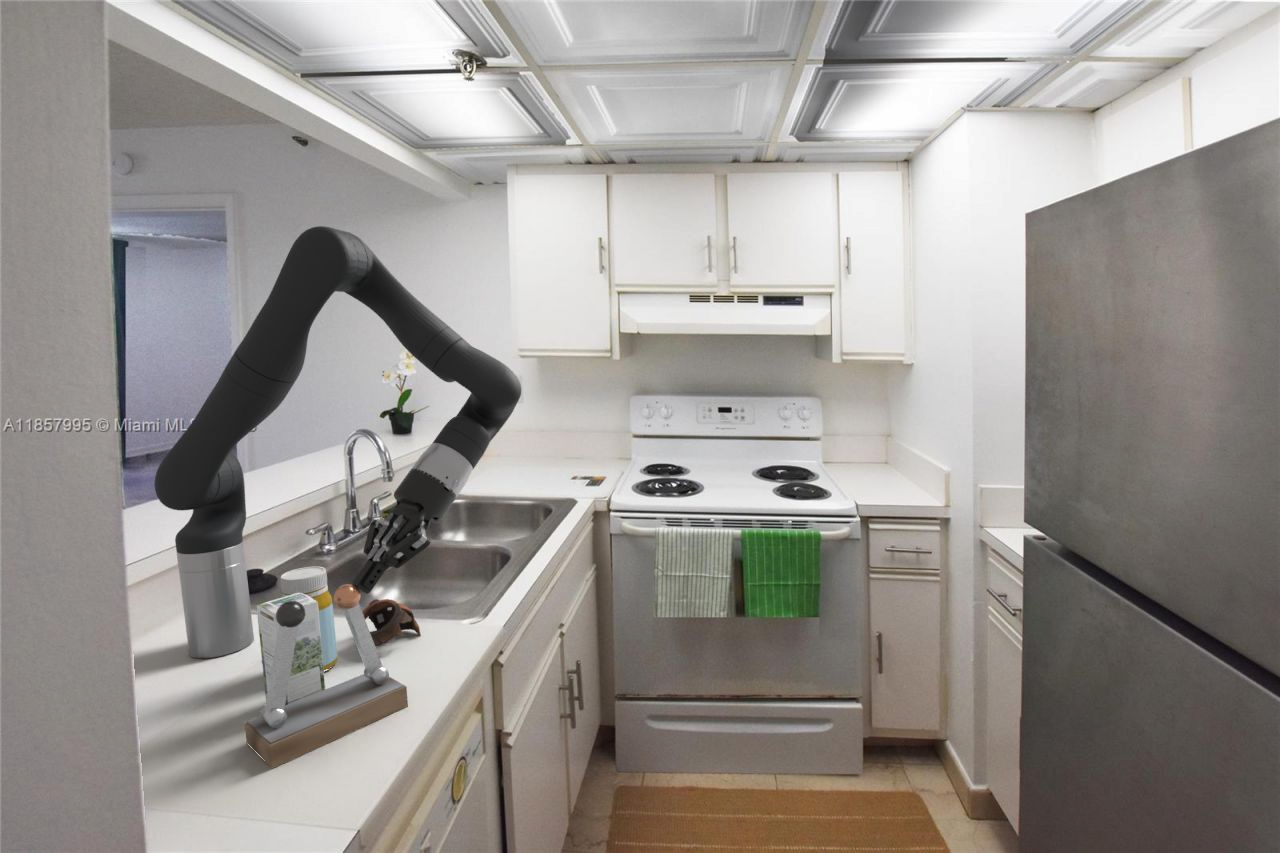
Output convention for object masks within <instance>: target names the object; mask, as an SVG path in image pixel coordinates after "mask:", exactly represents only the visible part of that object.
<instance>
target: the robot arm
mask: <svg viewBox="0 0 1280 853" xmlns="http://www.w3.org/2000/svg"><path fill="white" fill-rule="evenodd" d="M335 292H338V293H339V292H340V293H341V292H342V293H345V294H347V295H348V296H349V297H350V296H351V297H352V298H353V299H355V300H357V301H358V302H360V303H361V304H363V305H365V306H366V307H367V308H368V309H370V310H371V311H372V312H374V313H375V314H376V315H377V316H378V317H379V318H380V319H381V320H382V321H383V322H384V323H385V324H386V326H387V327H388V328H389V330H390V332H392V334H393V335H394V336H395V338H397V339H396V340H398V341H399V343H401V345H402V346H403V347H404V348H405V349H406V350H407V352H409V354H411V355H412V356H413V357H414V358H415V359H417V361H419V362H420V364H422V366H424V367H425V368H426V369H427V370H429V371H430V372H432V374H434V375H435V376H436V377H437V378H439V379H440V380H442V381H443V382H446V383H453V382H454V383H457V384H459V385H460V386H462V387H463V388H465V389H466V390H468V391H469V392H470V395H469V396H468V398H467V400H466V401H465V403H464V404H463V406H462V407H461V408H460V410H459V411H458V413H457V414H456V416H454V417H452V418H451V419H449V421H447V423H446V424H445V425H444V426H443V427H442V429H441V430H440V432H439V433H438V434H437V436H436V437H435V439H434V440H433V441H432V443H431V444H430V445H429V447H427V449H425V450H424V452H422V454H421V455H419V457H418V459H417V460H416V461H415V463H414V465H413V466H412V467H411V468H410V470H409V471H408V473H407V474H406V475H405V477H404V478H403V480H402V481H401V482H400V484H399V485H398V486H397V488H396V490H394V493H393V498H394V500H396V505H395V506H394V507H393V508H392V510H390V511H389V512H388V513H387V514H386V517H385V519H383V520H382V521H378V520H377V519H373V520H372V521H371V522H370V523H369V526H368V527H369V528H368V531H367V534H366V538H365V539H366V540H365V542H364V547H363V550H362V551H363V554H365V555H366V559H367V561H366V562H365V564H364V565H363V567H362V568H361V569H360V571H359V572H358V573H357V575H356V577H355V578H354V579H353V581H352V582H351V583H352V584H351V585H354V586H356V587H357V588H358V589H359V591H360V593H361V592H362V593H364V594H370V593H371V591H372V590H373V589H374V588H375V587H376V585H377V583H378V582H379V581H380V579H381V577H382V576H383V575H384V573H385V572H386V571H389V570H391V569H392V568H395V569H400V568H401V567H402V566H404V565H405V564H406V563H407V562H409V561H411V559H413V558H414V557H415V556H417V555H418V554H419V553H421V552H423V550H425V549H426V548H428V547H429V546H430V545H431V543H432V541H431V539H429V537H427V535H426V532H427V531H428V530H429V527H430V525H431V523H433V524H436V523H437V524H438V523H440V522H441V521H442V520H443V518H444V517H445V515H446V514H447V512H448V511H449V509H450V508H451V506H452V505H453V503H454V502H455V501H456V499H457V497H458V496H459V494H460V493H461V492H462V490H463V489H464V487H465V486H466V483H467V482H468V481H469V478H470V475H471V474H472V472H473V470H474V469H475V467H476V466H477V464H479V462H480V460H481V459H482V457H483V456H484V454H485V452H486V451H487V449H488V447H489V445H490V442H492V440H493V439H494V438H495V437H496V435H497V434H498V433H499V432H500V430H501V429H502V428H503V426H504V425H505V424H506V422H507V421H508V420H509V419H510V417H511V416H512V413H513V412H514V410H515V408H516V406H517V405H518V403H519V400H520V398H521V395H522V386H521V382H520V379H519V378H518V376H517V375H516V374H515V373H514V371H513V370H511V368H510V367H508V366H507V365H506V364H505V363H503V362H502V361H500V360H498V359H497V358H495V357H493V356H491V355H490V354H488V353H486V352H485V351H482V350H481V349H478V348H476V347H474V346H472V345H471V343H469V342H468V341H467V340H465V338H463V337H462V336H461V335H460V334H459V333H458V332H456V330H454V329H453V328H452V327H450V326H449V325H448V324H447V323H446V322H445V321H443V320H442V319H441V318H439V317H438V316H437V315H436V314H435V313H434V312H432V311H431V310H430V309H429V308H428V307H426V306H425V305H424V304H423V303H422V302H421V301H419V300H418V299H417V297H415V296H414V295H413V294H412V293H411V292H410V291H409V290H408V289H407V288H405V286H404V285H402V283H401V282H400V281H399V280H398V279H397V278H396V277H395V276H394V275H393V273H391V272H390V270H389V269H388V268H387V267H386V266H385V265H384V264H383V262H382V261H381V260H380V259H379V258H378V257H377V255H376V254H375V253H374V252H373V251H372V250H371V248H370V247H369V246H368V245H367V244H366V243H365V242H364V241H363V240H362V239H361V238H360V237H359V236H357V235H355V234H353V233H351V232H349V231H345V230H341V229H337V228H333V227H330V226H323V225H319V226H313V227H311V228H308V229H306V230H305V231H303V232H301V234H300V235H299V236H298V237H297V238H296V239H295V241H294V242H293V243H292V245H291V248H290V250H289V252H287V256H286V258H285V261H284V263H283V264H282V267H281V269H280V271H279V273H278V275H277V279H276V280H275V283H274V284H273V287H272V289H271V292H270V294H269V295H268V297H267V298H266V301H265V303H264V304H263V306H262V307H261V309H260V310H259V311H258V313H257V315H256V317H255V319H254V320H253V322H252V324H251V326H250V327H249V328H248V330H247V332H246V334H245V336H244V337H243V339H242V340H241V342H240V343H239V345H238V346H237V348H236V349H235V351H234V352H233V354H232V356H231V357H230V359H229V361H228V362H227V364H226V366H225V367H224V370H223V371H222V373H221V375H220V376H219V379H218V381H217V382H216V384H215V386H213V389H212V390H211V392H209V395H208V396H207V398H206V399H205V401H204V402H203V404H202V406H201V408H200V409H199V411H198V412H197V414H196V416H195V418H194V419H193V421H192V422H191V423H190V424H189V425H188V427H187V429H186V430H185V431H184V433H183V434H181V436H180V438H178V440H177V442H175V444H174V445H173V446H172V447H171V449H170V450H169V451H168V453H167V454H166V455H165V456H164V458H163V459H162V461H161V462H160V464H159V466H158V467H157V470H156V473H155V475H154V476H155V477H154V491H155V494H156V497H157V499H158V500H159V502H160V503H161V504H162V505H163V506H165V507H166V508H168V509H171V510H173V511H190V510H192V514H191V517H190V518H189V520H188V521H187V523H186V524H185V525H184V526H183V527H182V528H181V529H180V530H179V531H178V532H176V533H177V534H176V535H175V540H174V541H175V549H176V550H175V551H176V557H177V566H178V574H179V581H180V589H181V590H180V592H181V598H182V606H183V614H184V623H185V634H186V639H187V647H188V654H189V656H190V657H192V658H195V659H209V658H210V659H211V658H216V657H222V656H226V655H229V654H232V653H236V652H239V651H241V650H243V649H245V648H246V647H248V646H249V645H251V644H252V643H253V642H254V640H255V638H254V637H255V634H254V627H253V626H254V625H253V619H252V616H253V615H252V610H251V609H252V608H251V600H250V599H251V598H250V590H249V583H248V573H247V564H246V558H245V557H246V556H245V546H244V539H243V538H244V537H243V531H244V528H245V525H246V521H247V511H246V510H247V508H246V492H245V490H246V489H245V488H246V487H245V486H246V485H245V478H244V476H245V475H244V471H243V469H242V465H241V463H240V461H239V459H238V458H237V456H236V455H235V454H234V452H232V451H233V449H234V448H235V446H236V445H238V443H239V442H240V441H241V440H242V439H243V438H245V437H246V436H247V435H248V434H250V433H251V432H252V431H253V430H254V429H255V428H256V427H258V426H259V425H260V424H261V423H262V422H264V421H265V420H266V419H267V418H268V417H269V416H270V415H271V414H272V413H274V411H276V410H277V409H278V407H279V406H280V405H281V404H282V403H283V401H284V400H285V399H286V397H287V396H288V394H289V392H290V391H291V389H292V388H293V386H294V385H295V383H296V381H297V380H298V378H299V376H300V374H301V372H302V369H303V368H304V364H305V359H306V354H307V346H308V339H309V334H310V331H311V328H312V325H313V323H314V321H315V320H316V318H317V317H318V315H319V313H320V312H321V310H322V309H323V307H324V306H325V304H326V303H327V302H328V301H329V299H330V298H331V297H332V296H333V294H334V293H335Z"/></svg>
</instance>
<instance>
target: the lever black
mask: <svg viewBox="0 0 1280 853" xmlns="http://www.w3.org/2000/svg"><path fill="white" fill-rule="evenodd" d="M304 618H305V608H304V606H303V605H302V604H301V603H299V602H297V601H288V602H285V603H284V604H282V605H281V606H280V607H279V608H278V610H277V612H276V620H277V622H278V624H279V630H278V635H277V641H276V647H275V653H274V658H273V664H272V670H271V676H270V682H269V687H268V693H267V699H266V698H265V704H264V705H263V706H262V707H261V709H260V710H259V716H260V717H261V718H262V719H263V720H264V721H265V722H266V723H267V724H268V725H270V726H271V727H272V728H279V727H281V726H282V725H284V723H285V722H286V720H287V714H286V712H285V711H284V708H285V702H286V696H287V690H288V685H289V679H290V673H291V667H292V661H293V655H294V649H295V643H296V638H297V632H298V626H299V624H300V623H301V622H302V621H303V620H304Z"/></svg>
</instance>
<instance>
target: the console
mask: <svg viewBox="0 0 1280 853" xmlns="http://www.w3.org/2000/svg"><path fill="white" fill-rule="evenodd" d="M407 707H409V702H408V690H407V686H406V685H404V684H403V683H401V682H399V681H398V680H396V679H394V678H392V677H391V676H389V677H388V680H387V681H386V682H385V683H384V684H381V685H379V684H376V683H375V682H373V681H371V680H370V679H368V678H366V677H365V675H364V673H363V674H360V675H358V676H355V677H353V678H351V679H348V680H345V681H343V682H341V683H338V684H335V685H332V686H331V687H328V688H325V690H323V691H320V692H318V693H315V694H313V695H310V696H308V697H305V698H303V699H300V700H298V701H295V702H293V703H290V704H288V705H285V708H284V711H285V712H286V714H287V720H286V722H285V723H284V725H282V726H281V727H279V728H272V727H271V726H270V725H268V724H267V723H266V722H265V721H264V720H263V719H262V718H261V717H260V715H258V716H256V717H253V718H251V719H248V720H246V721H245V722H244V732H245V737H246V738H245V739H246V744H247V743H248V744H249V745H250V746H251V747H252V748H253V749H254V750H255V751H256V752H257V753H258V754H259V755H260V756H261V757H262V758H263V759H264V760H265V761H264V760H263V759H262V758H261V757H260V758H261V759H262V760H263V761H264V763H265V764H267V765H268V767H269V768H270V769H272V768H273V769H274V768H275V769H276V768H277V767H279V766H282V765H283V763H284V764H286V763H288V762H290V761H292V760H295V759H297V758H298V757H301V756H304V755H305V754H308V753H309V752H312V751H314V750H316V749H318V748H321V747H322V746H323V747H324V746H325V745H327V744H329V743H331V742H333V741H336V740H338V739H340V738H342V737H344V736H346V735H348V734H351V733H353V732H355V731H357V730H360V729H361V728H362V729H363V728H364V727H367V726H368V725H370V724H373V723H375V722H378V721H380V720H382V719H384V718H386V717H388V716H390V715H392V714H394V713H396V712H397V713H398V711H401V710H403V709H406V708H407Z"/></svg>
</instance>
